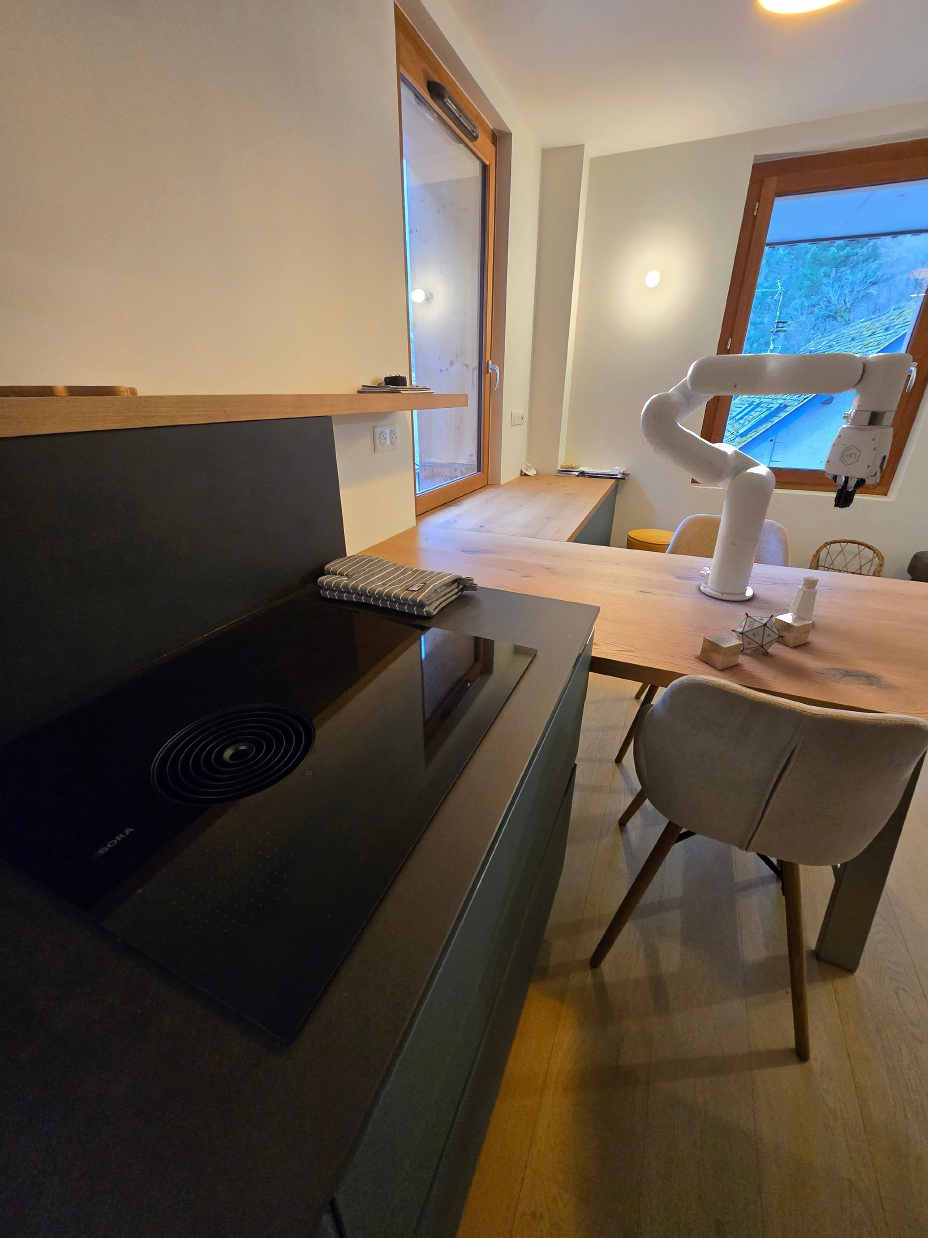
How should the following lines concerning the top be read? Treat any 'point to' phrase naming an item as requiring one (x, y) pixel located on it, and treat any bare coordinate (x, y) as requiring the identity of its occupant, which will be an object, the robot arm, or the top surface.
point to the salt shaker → (805, 598)
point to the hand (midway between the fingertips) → (841, 506)
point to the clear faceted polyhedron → (757, 633)
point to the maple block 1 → (720, 650)
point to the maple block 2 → (792, 629)
